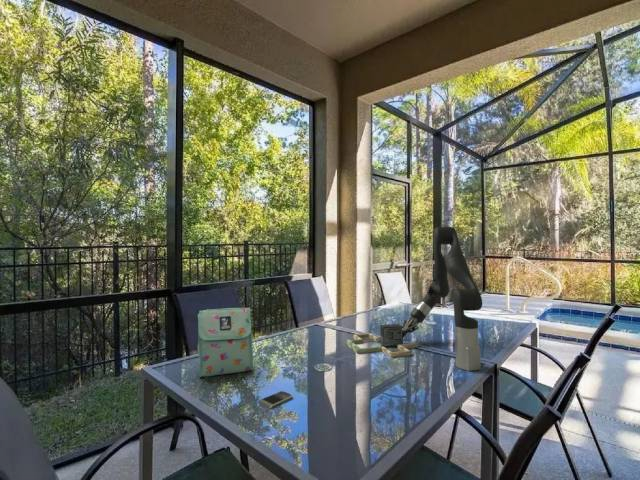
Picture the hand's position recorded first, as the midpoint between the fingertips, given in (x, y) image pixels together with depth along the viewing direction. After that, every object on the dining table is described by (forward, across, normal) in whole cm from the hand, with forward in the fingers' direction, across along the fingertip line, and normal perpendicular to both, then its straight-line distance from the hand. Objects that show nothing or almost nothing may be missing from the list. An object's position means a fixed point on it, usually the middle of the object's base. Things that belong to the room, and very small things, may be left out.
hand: (400, 336), depth 184 cm
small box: (+7, +1, -2) cm, 7 cm away
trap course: (+11, 0, -6) cm, 13 cm away
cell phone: (+54, +49, -49) cm, 88 cm away
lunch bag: (+66, +13, -61) cm, 91 cm away
